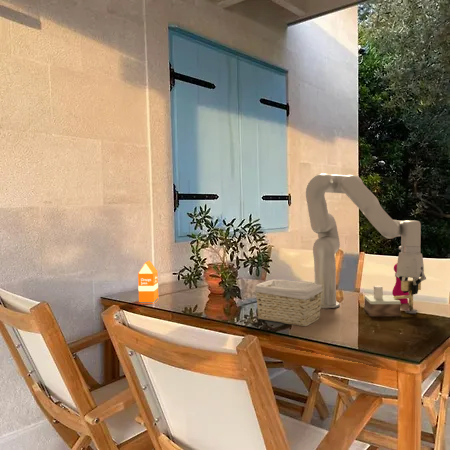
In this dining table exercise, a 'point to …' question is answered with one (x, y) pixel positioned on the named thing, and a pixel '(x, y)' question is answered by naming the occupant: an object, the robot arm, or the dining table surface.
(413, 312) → the silver metal disc
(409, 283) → the key
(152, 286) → the orange juice
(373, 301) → the cover
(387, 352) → the dining table surface
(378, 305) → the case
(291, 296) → the storage basket
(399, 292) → the pepper mill
